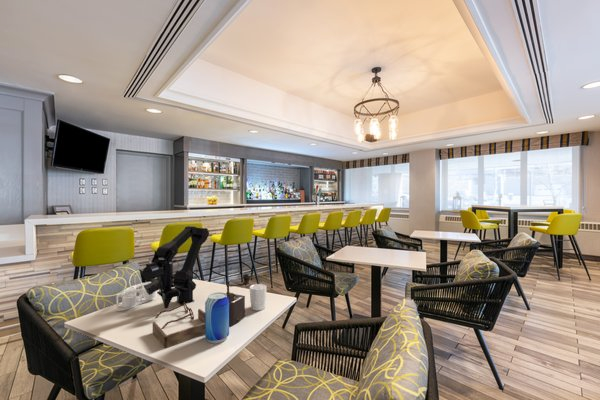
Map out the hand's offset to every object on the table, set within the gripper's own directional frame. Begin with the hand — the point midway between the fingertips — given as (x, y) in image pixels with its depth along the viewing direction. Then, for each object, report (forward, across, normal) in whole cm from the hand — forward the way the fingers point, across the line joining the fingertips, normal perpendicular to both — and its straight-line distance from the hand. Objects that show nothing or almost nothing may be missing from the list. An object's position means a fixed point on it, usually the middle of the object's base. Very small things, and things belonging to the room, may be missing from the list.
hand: (166, 307), depth 124 cm
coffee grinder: (+2, +27, +19) cm, 33 cm away
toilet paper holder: (+2, -20, -8) cm, 22 cm away
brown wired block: (+2, +25, -1) cm, 25 cm away
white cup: (+2, +26, +33) cm, 42 cm away
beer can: (+2, +39, +6) cm, 39 cm away
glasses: (+2, +11, 0) cm, 11 cm away
